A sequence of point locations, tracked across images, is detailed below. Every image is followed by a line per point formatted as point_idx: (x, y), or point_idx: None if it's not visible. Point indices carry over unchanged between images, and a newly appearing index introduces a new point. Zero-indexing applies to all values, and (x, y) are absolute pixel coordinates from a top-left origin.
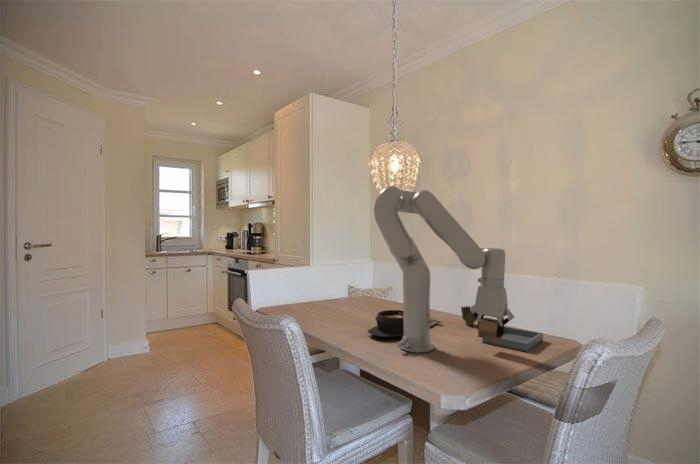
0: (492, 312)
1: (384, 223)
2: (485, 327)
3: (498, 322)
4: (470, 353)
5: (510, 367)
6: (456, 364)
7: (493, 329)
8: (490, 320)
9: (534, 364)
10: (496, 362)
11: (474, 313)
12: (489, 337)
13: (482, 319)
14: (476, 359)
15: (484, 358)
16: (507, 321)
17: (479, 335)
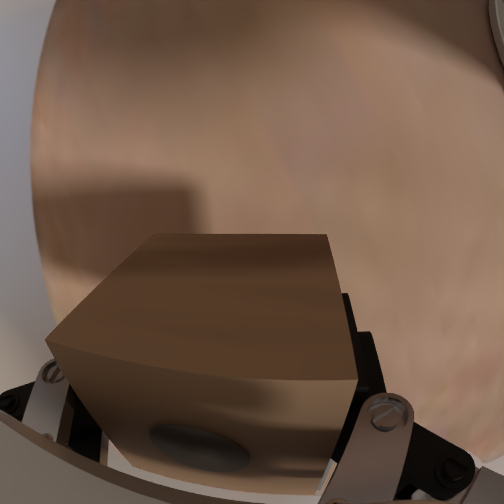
0: (6, 499)
1: None
2: (226, 298)
3: (84, 403)
4: (332, 121)
5: (66, 93)
6: None
7: (119, 290)
8: (181, 435)
9: (36, 220)
10: (133, 93)
11: (462, 478)
12: (199, 240)
13: (308, 430)
14: (242, 43)
15: (213, 96)
16: (3, 393)
17: (313, 240)
